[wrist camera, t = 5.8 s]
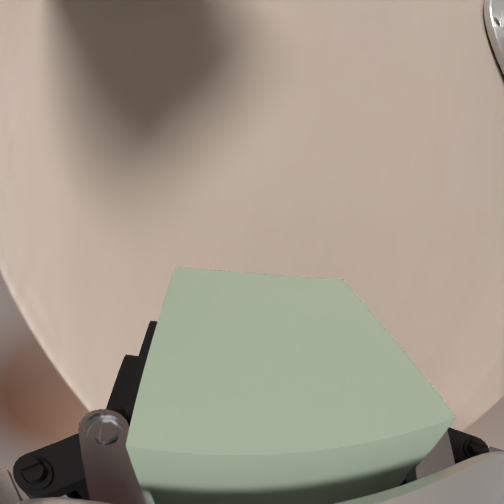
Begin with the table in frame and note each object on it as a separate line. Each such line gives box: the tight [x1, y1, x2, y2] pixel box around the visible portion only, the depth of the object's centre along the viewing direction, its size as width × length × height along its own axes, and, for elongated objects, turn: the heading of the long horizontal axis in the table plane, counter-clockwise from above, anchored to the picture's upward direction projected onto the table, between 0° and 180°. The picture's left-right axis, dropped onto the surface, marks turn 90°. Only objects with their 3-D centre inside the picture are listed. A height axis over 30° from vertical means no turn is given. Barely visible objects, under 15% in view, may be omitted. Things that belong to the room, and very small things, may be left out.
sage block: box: [126, 267, 456, 504], centre depth 8 cm, size 6×6×7 cm
